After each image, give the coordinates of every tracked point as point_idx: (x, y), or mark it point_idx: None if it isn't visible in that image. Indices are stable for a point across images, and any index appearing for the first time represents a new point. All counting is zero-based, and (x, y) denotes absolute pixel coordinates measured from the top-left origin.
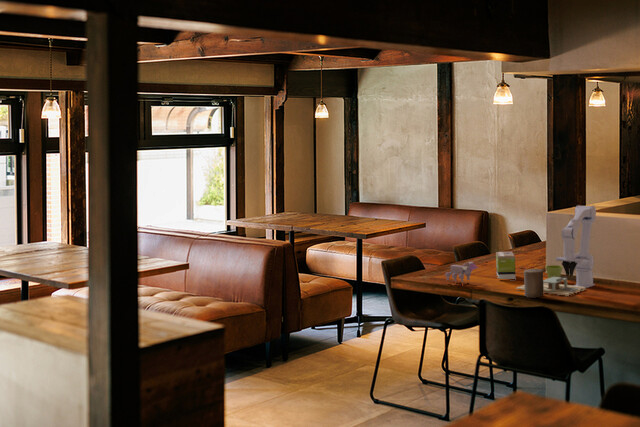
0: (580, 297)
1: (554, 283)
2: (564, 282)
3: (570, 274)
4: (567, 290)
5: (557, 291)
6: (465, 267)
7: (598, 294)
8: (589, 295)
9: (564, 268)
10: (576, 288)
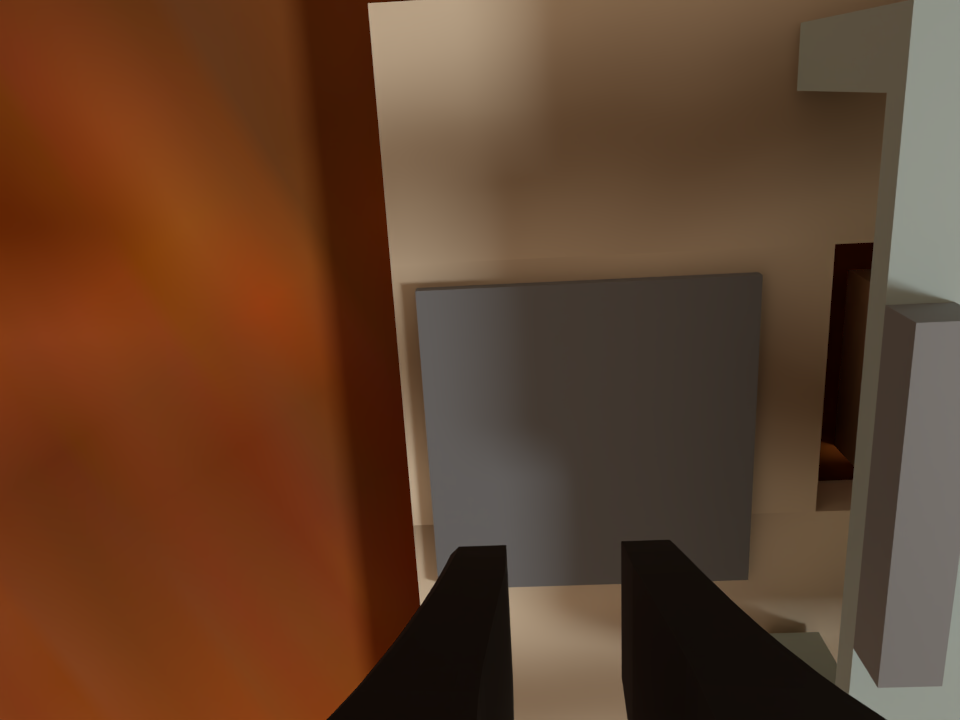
0: (104, 113)
1: (898, 27)
2: None
3: (463, 567)
4: (547, 305)
5: (736, 106)
6: None
7: (20, 580)
8: (89, 409)
9: (848, 710)
10: (516, 640)
